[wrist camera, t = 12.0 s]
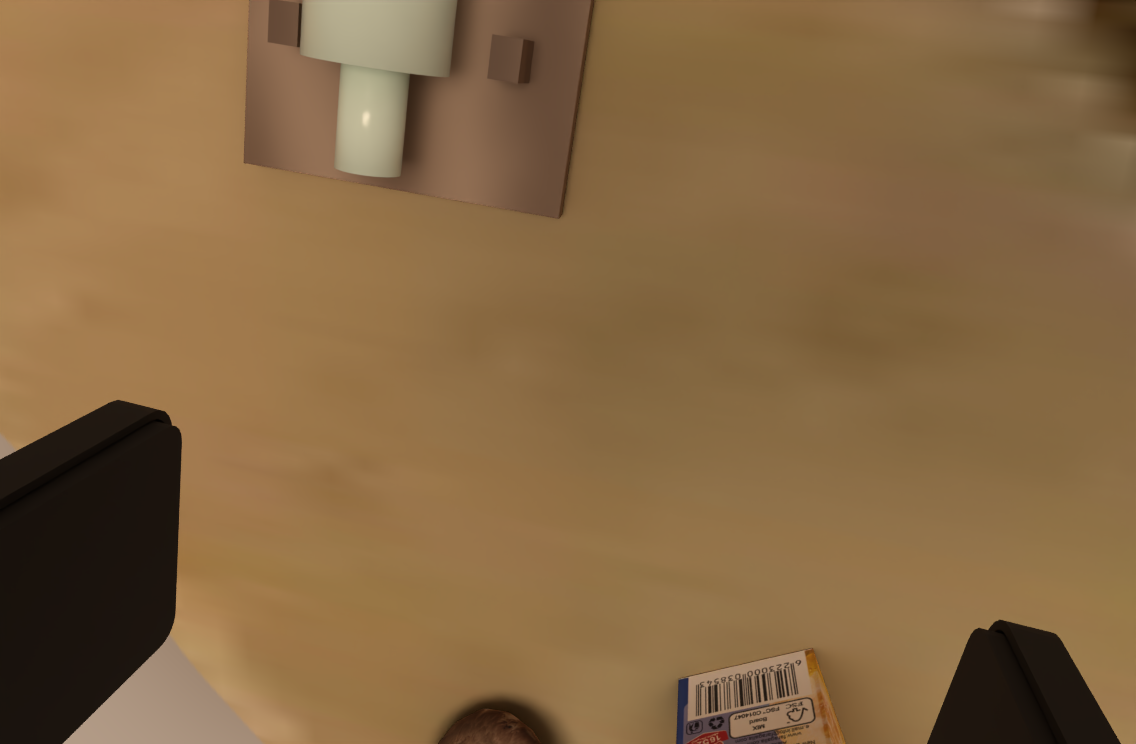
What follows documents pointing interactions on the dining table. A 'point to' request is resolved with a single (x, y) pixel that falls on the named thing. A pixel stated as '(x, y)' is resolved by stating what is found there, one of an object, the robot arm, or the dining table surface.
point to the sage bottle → (377, 70)
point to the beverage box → (758, 704)
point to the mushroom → (490, 729)
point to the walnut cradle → (437, 104)
